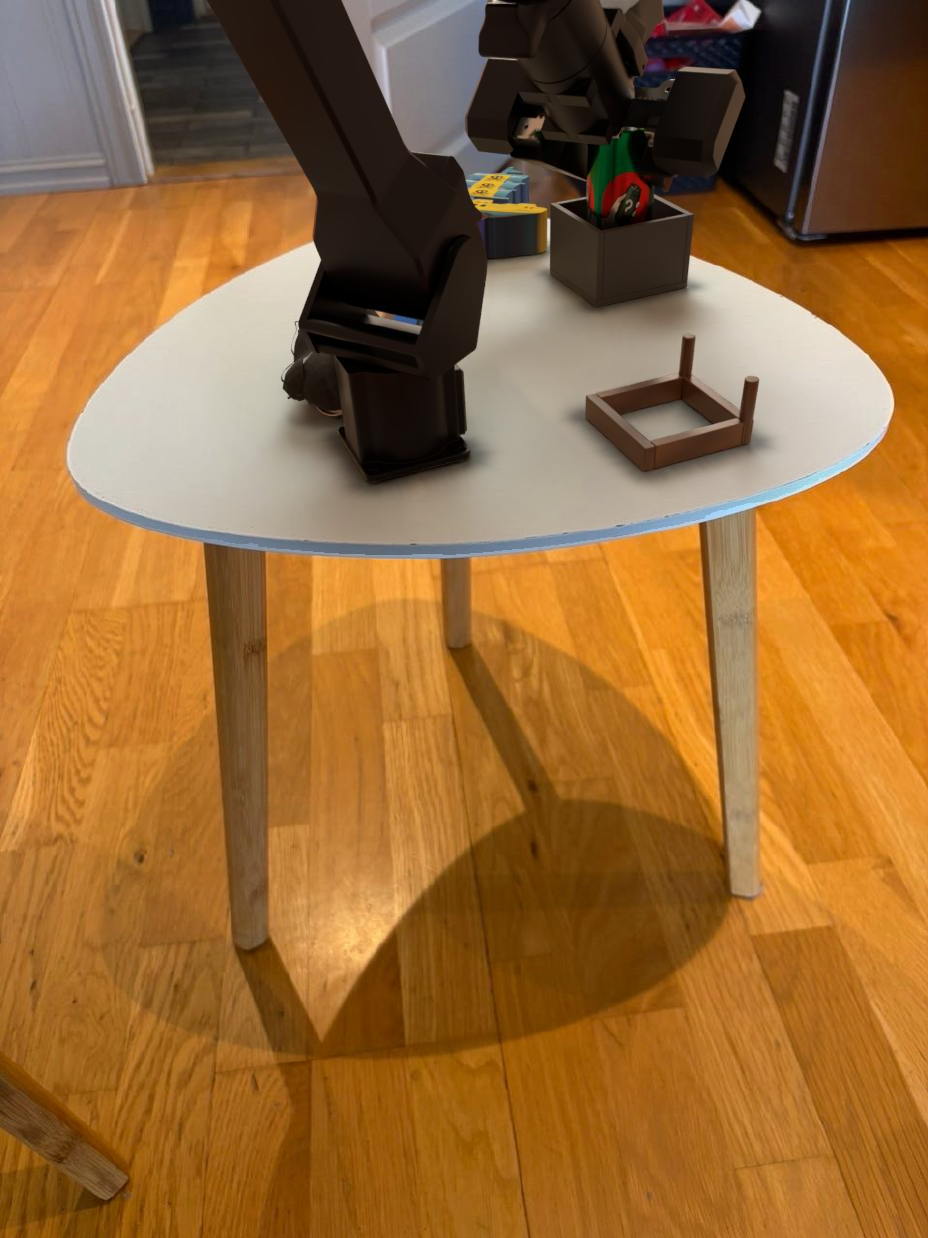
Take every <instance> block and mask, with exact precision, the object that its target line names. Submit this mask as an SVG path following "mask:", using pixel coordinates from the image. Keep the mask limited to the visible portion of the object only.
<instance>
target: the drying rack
mask: <svg viewBox="0 0 928 1238" xmlns="http://www.w3.org/2000/svg"><path fill="white" fill-rule="evenodd" d="M696 339H697V336H696V335H695V334H693V333H684V334H683V335H682V338H681V346H680V347H681V348H680V356H679V366H678V367H679V368H678V372H676V373H672V374H667V375H664V376H659V377H655V378H652V379H646V380H643V381H640V382H635V383H631V384H628V385H623V386H620V387H615V388H611V389H607V390H603V391H599V392H595V393H591V394H587V395H586V396H585V407H584V408H585V410H584V411H585V412H584V416H585V419H586V420H588V421H589V422H590V423H591V424H592V425H593V426H594V427H595V428H596V429H597V430H598V431H599V432H601V434H603V436H605V437H606V438H607V439H608V440H609V441H610V442H611V443H612V444H613V445H614V446H615V447H616V448H618V449H619V450H620V451H621V452H622V453H623V454H624V455H625V456H626V457H628V459H629V460H631V462H633V463H634V464H635V465H636V466H637V467H638V468H639V469H640V470H641V471H643V472H646V471H650V470H654V469H658V468H662V467H665V466H670V465H673V464H677V463H681V462H683V461H688V460H691V459H694V458H698V457H702V456H706V455H709V454H714V453H716V452H720V451H724V450H728V449H731V448H735V447H738V446H741V445H748V444H750V443H751V441H752V435H753V430H754V429H753V428H754V422H755V421H754V417H755V416H754V415H755V410H756V404H757V399H758V398H757V396H758V392H759V386H760V378H759V376H755V375H747V376H746V377H744V381H743V388H742V393H741V401H740V408H738V407H737V406H735V405H734V404H733V403H732V402H730V401H729V400H728V399H726V398H724V397H723V396H722V395H720V394H719V393H718V392H716V390H714V389H712V387H709V386H708V385H707V384H706V383H704V382H703V381H701V380H700V379H699V378H697V377H696V376H695V375H694V374H693V365H694V356H695V347H696ZM681 399H682V400H683V402H685V403H687V404H688V405H689V406H690V407H692V408H693V409H694V410H696V411H697V412H698V413H700V415H702V416H703V417H705V418H706V419H707V420H708V421H709V422H711V423H712V424H708V425H704V426H701V427H698V428H697V427H696V428H693V429H691V430H690V429H689V430H686V431H683V432H679V433H675V434H671V435H668V436H664V437H660V438H656V439H652V440H649V439H648V438H647V437H645V436H644V435H643V434H642V433H641V432H640V431H639V430H638V429H636V428H635V427H634V426H633V425H632V424H631V423H630V422H628V420H626V418H624V417H623V416H622V415H621V414H626V413H630V412H634V411H638V410H642V409H645V408H649V407H653V406H658V405H662V404H665V403H669V402H672V401H677V400H681Z"/></svg>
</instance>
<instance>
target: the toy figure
mask: <svg viewBox="0 0 928 1238" xmlns="http://www.w3.org/2000/svg"><path fill="white" fill-rule="evenodd" d="M367 315H372V316H376V317H381V318H386V319H390V320H394V315H392V314H388V313H383V312H378V311H374V310H369V309H367ZM298 321H299V320H296V321H294V326H295V333H294V335H293V338H292V341H291V346H290V352H291V354H292V356H293V362H292V363H290V364H289V365H288V366H286V367H285V369H284V371H283V372H282V373H281V377H280V379H281V382H282V383H283V384H282V390H283V391H284V392H285V393H286V394H287V397H286V398H287V399H288V400H290V399H292V400H293V401H298V402H302V401H306V402H308V404H310V405H312V406H314V407H315V408H316V409H317V410H318V411H319V412H321V413H322V414H323V415H326V416H329V417H337V416H341V415H342V409H341V402H340V396H339V389H338V383H337V376H336V369H335V363H334V356H333V355H329V354H325V353H315V352H311V351H310V350H309V348H308V346H307V344H306V342H305V340H304V338H303V336H302V334H301V331H300V329H299V328H297V327H298V326H297V323H298ZM296 334H297V335H296ZM295 336H296V338H295ZM293 341H294V345H293ZM292 347H293V349H292ZM304 360H305V361H304ZM285 371H286V372H285ZM284 373H285V374H284ZM283 374H284V379H283Z"/></svg>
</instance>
